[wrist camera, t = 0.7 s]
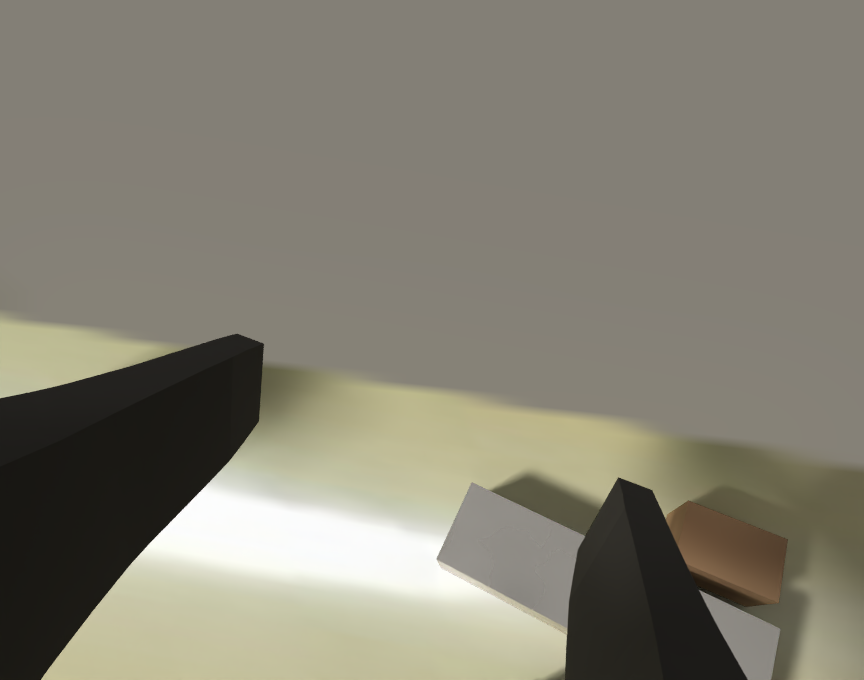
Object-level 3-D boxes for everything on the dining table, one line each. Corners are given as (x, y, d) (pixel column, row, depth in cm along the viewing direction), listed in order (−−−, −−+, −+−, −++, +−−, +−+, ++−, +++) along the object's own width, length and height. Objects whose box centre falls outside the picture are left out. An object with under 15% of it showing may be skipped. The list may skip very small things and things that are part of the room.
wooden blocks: (712, 806, 21) (746, 831, 18) (609, 752, 22) (627, 767, 19) (755, 549, 25) (787, 539, 22) (667, 514, 26) (688, 500, 23)
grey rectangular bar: (721, 717, 22) (761, 730, 19) (441, 568, 26) (436, 559, 23) (740, 629, 24) (780, 628, 21) (472, 499, 27) (471, 482, 24)
